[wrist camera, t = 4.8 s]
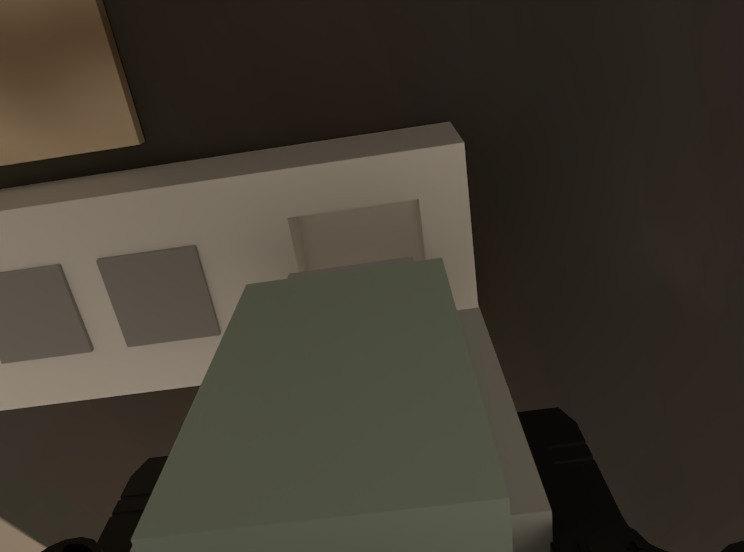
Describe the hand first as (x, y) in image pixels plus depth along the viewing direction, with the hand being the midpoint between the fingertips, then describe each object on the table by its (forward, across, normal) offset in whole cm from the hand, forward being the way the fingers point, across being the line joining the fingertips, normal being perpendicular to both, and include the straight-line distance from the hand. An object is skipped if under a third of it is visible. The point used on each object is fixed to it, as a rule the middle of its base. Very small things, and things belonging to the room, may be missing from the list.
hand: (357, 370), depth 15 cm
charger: (+3, 0, 0) cm, 3 cm away
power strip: (+11, -9, 0) cm, 14 cm away
